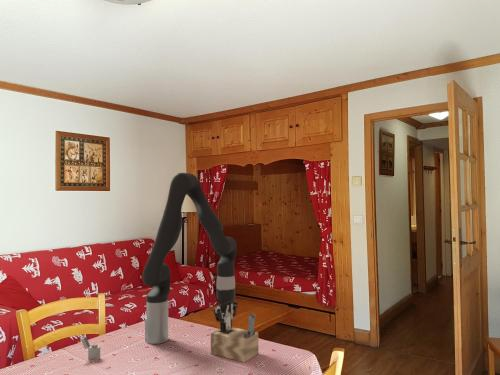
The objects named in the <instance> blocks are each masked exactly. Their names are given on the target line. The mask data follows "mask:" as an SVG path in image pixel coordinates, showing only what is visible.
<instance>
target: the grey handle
mask: <svg viewBox="0 0 500 375" xmlns="http://www.w3.org/2000/svg"><path fill="white" fill-rule="evenodd" d="M256 318H257V315H256V313H252V314H249V315H248V317H247V319H248V325H247V330H248V334H249V336H251V335H253V332H254V330H255V320H256Z"/></svg>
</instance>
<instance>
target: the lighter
mask: <svg viewBox="0 0 500 375" xmlns="http://www.w3.org/2000/svg"><path fill="white" fill-rule="evenodd" d="M80 341H81V343H82V346H83V348H84V349H85V350H88V351H87V352H88V354H87V358H88V360H97V359H98V360H99V359H101V346H98V344H97V343H92V344H91V345H90V342H89V340H88V338H87V336H84V337H82V338H81V339H80Z"/></svg>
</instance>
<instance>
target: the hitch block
mask: <svg viewBox="0 0 500 375" xmlns="http://www.w3.org/2000/svg"><path fill="white" fill-rule="evenodd" d="M259 353H260V352H259V332H256V330H255V329H254V332H253V335H251V336H249V334H248V329H243V328H239V327H233V326H232V329H231V332H230V333H228V334H226V333H222V332H221V330H220V328H219V329H217V330H214V331H212V332H210V354H212V355H215V356H219V357H223V358H227V359H230V360H234V361H238V362H241V363H246V362H248V361H249V360H251V359H252V358H253V357H255V356H257V355H258V354H259Z"/></svg>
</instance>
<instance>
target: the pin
mask: <svg viewBox="0 0 500 375" xmlns="http://www.w3.org/2000/svg"><path fill="white" fill-rule="evenodd" d="M222 314H225V313H222ZM222 318H223V316H222ZM230 332H231V313H230V312H228V315H227V317H226V332H222V333H226V334H228V333H230Z"/></svg>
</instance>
